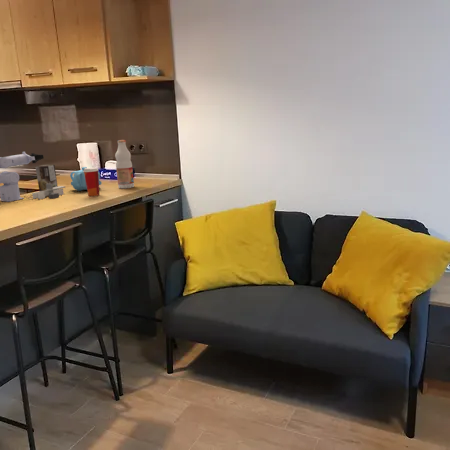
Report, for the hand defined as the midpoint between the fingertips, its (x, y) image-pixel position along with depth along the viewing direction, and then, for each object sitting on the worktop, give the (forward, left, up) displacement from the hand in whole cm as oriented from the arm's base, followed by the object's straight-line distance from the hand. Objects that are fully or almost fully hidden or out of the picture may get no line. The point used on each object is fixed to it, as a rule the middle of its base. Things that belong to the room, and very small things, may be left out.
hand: (39, 156), depth 267 cm
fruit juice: (+33, -34, -22) cm, 52 cm away
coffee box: (+4, +1, -22) cm, 22 cm away
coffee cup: (+7, -35, -22) cm, 42 cm away
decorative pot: (+19, -15, -22) cm, 32 cm away
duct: (-5, -11, -22) cm, 25 cm away
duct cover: (0, -11, -18) cm, 21 cm away
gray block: (-7, -18, -22) cm, 29 cm away
